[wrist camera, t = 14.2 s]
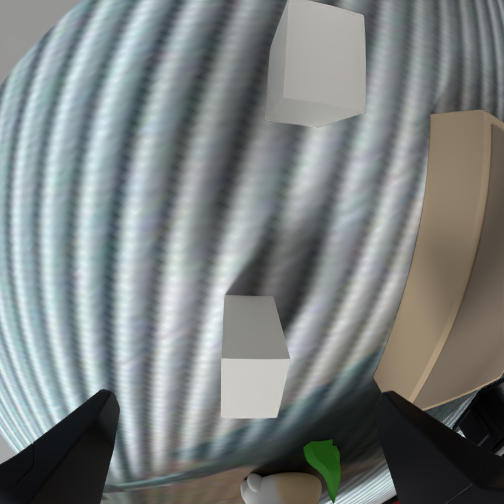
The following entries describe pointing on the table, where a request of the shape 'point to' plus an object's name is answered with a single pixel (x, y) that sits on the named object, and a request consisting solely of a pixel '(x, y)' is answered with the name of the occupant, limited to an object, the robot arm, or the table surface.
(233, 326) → the flap far
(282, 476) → the kitten
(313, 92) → the white block
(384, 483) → the table surface
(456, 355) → the carton
